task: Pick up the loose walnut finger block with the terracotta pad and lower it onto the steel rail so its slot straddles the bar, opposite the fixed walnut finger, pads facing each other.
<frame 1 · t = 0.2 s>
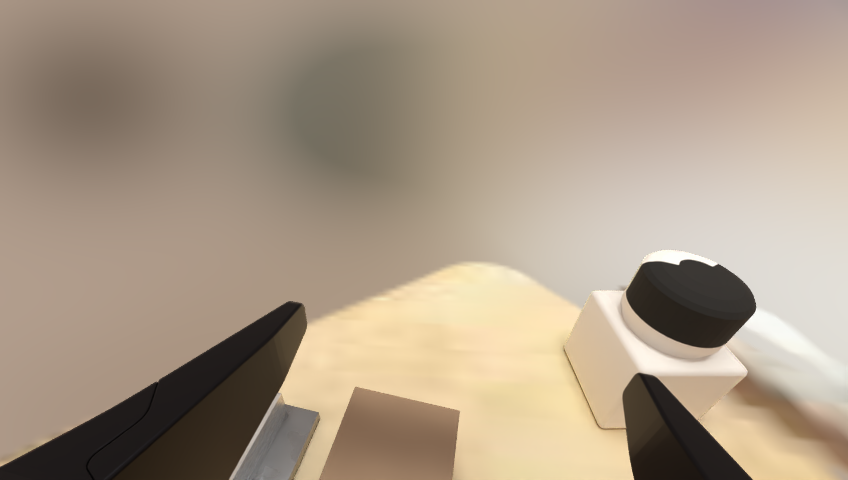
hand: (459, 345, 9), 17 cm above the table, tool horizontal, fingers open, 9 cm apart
medicine bottle: (619, 385, 28), on the table
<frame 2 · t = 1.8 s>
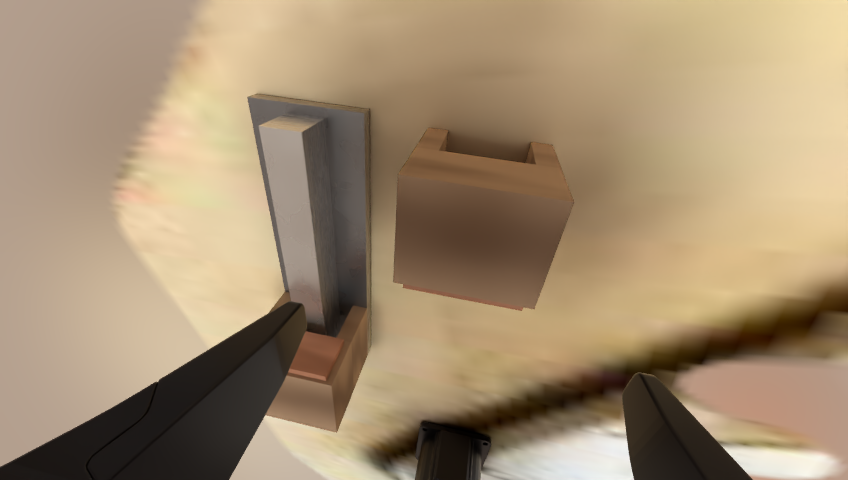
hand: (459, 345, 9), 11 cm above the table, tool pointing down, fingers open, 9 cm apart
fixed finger: (328, 324, 25), resting on rail
finger block: (480, 183, 18), on the table
rail: (326, 246, 22), on the table
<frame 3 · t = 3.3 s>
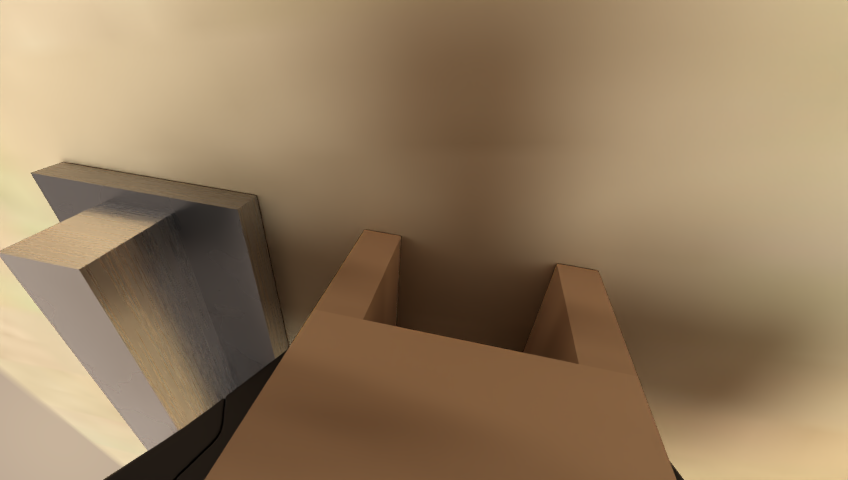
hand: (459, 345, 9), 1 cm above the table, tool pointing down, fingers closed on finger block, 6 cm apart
finger block: (462, 317, 10), on the table, touching gripper
rail: (231, 375, 15), on the table
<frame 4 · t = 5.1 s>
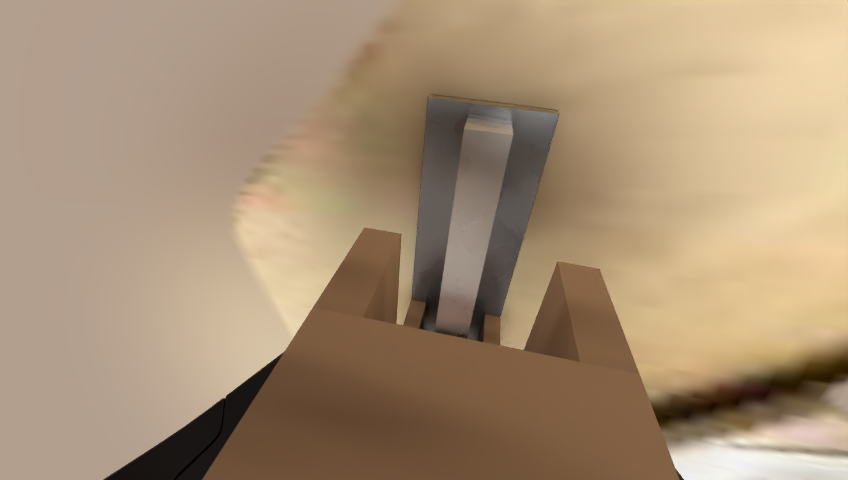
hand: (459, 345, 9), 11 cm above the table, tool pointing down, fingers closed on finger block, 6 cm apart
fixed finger: (450, 333, 24), resting on rail
finger block: (463, 316, 10), point 10 cm above the table, touching gripper
rail: (464, 253, 21), on the table
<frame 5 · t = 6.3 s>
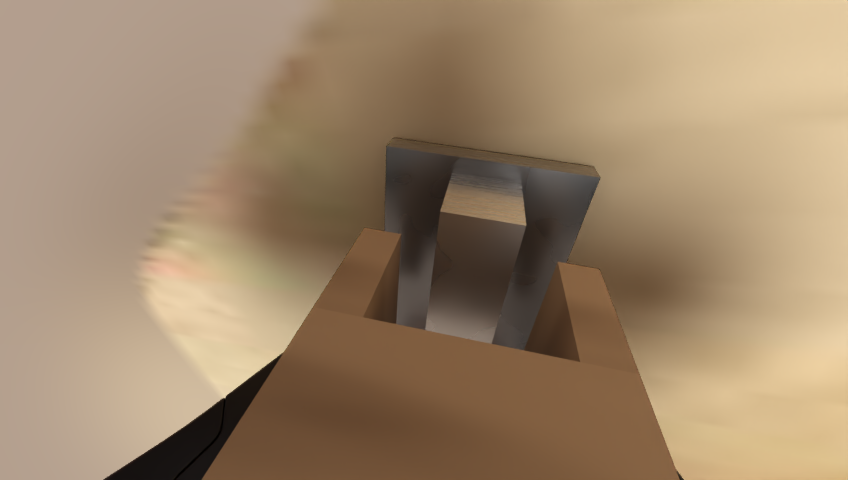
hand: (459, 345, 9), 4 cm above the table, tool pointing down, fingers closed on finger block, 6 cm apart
finger block: (463, 316, 10), point 3 cm above the table, touching gripper
rail: (452, 346, 15), on the table
when the fingers open (2 cm above the table, at t = 7.1 s): finger block stays where it is, resting on rail.
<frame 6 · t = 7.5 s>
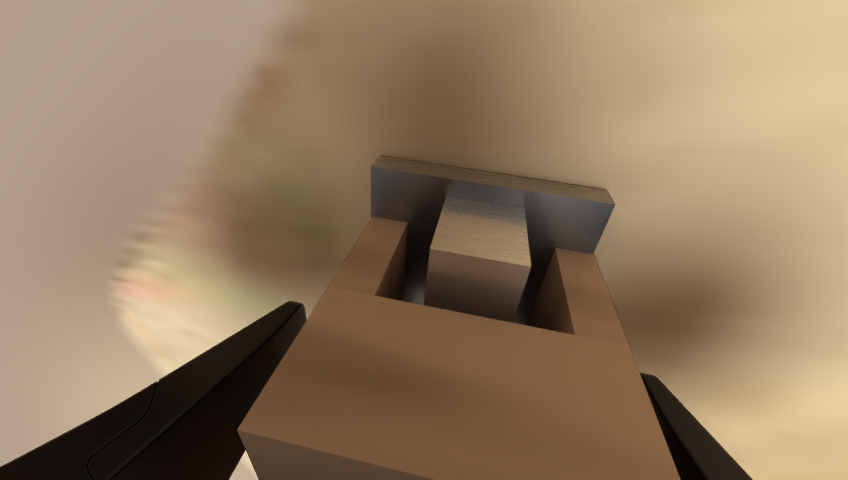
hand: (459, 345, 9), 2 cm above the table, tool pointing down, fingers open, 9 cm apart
finger block: (465, 301, 11), point 1 cm above the table, touching rail
rail: (448, 376, 14), on the table
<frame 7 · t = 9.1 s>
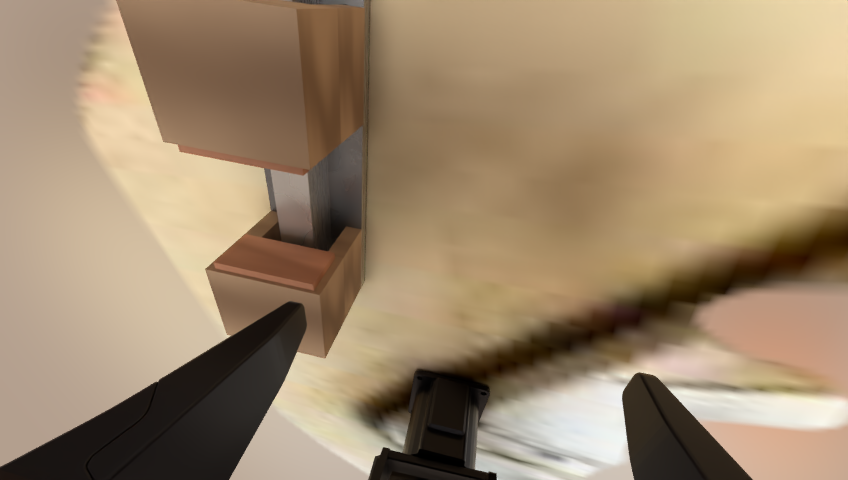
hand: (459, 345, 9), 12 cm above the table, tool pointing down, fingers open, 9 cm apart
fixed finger: (318, 251, 23), resting on rail
finger block: (303, 61, 16), point 1 cm above the table, touching rail
rail: (317, 155, 20), on the table
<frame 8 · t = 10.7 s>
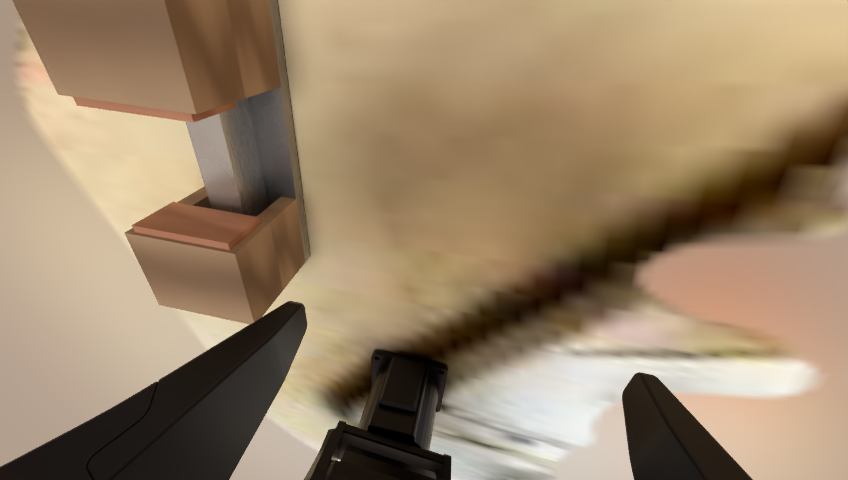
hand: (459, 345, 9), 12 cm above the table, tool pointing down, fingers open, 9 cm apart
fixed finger: (259, 224, 23), resting on rail
finger block: (215, 23, 17), point 1 cm above the table, touching rail
rail: (246, 124, 20), on the table
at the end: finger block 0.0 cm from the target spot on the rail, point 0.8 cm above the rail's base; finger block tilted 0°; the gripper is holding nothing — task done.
